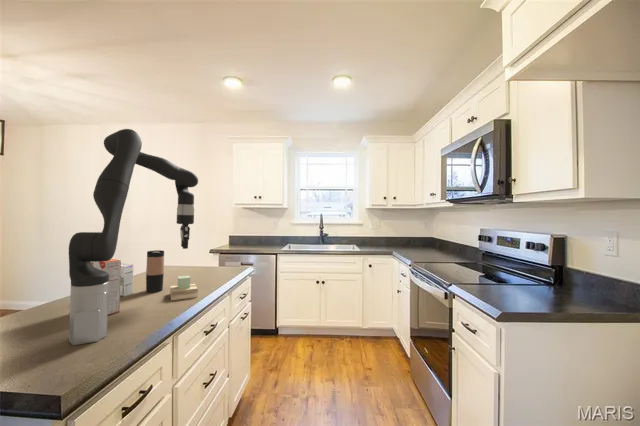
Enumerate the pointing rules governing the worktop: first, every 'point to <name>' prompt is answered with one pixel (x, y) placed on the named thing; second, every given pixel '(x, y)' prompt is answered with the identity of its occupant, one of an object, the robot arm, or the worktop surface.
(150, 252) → the travel mug
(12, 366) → the worktop surface
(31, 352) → the worktop surface
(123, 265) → the syrup box
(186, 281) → the cube
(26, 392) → the worktop surface
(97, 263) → the cracker box
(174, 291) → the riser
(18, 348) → the worktop surface
